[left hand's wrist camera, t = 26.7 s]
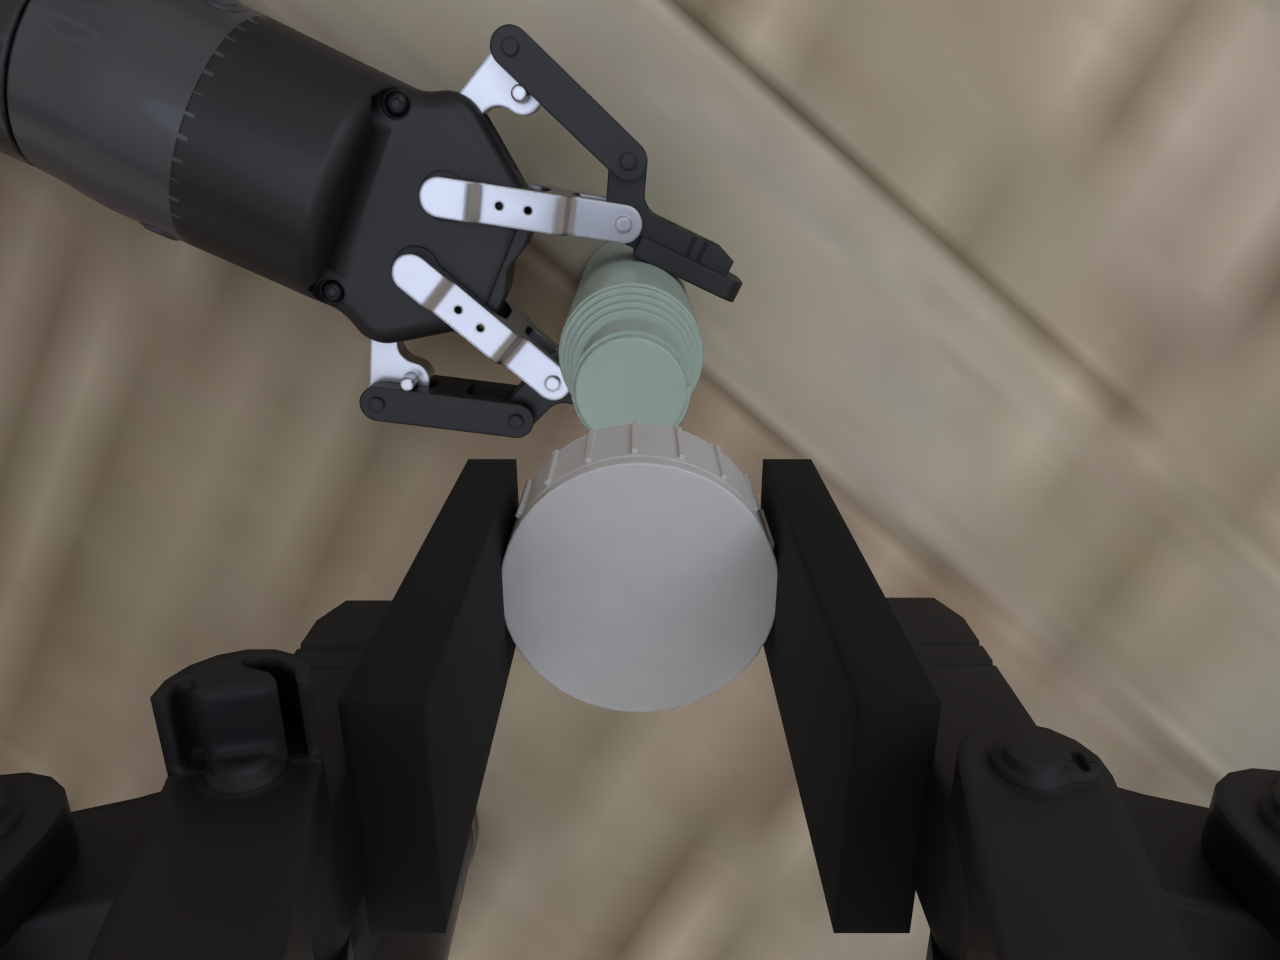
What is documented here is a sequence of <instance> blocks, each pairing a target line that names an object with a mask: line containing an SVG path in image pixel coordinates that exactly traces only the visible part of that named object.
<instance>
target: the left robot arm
mask: <svg viewBox="0 0 1280 960" xmlns="http://www.w3.org/2000/svg"><path fill="white" fill-rule="evenodd" d="M518 506H519V502H518V483H517V464H516V459H468V461H467V463H466V465H465V467H464V468H463V470H462V472H461V474H460V476H459V478H458V480H457V481H456V483H455V485H454V487H453V489H452V491H451V493H450V494H449V496H448V498H447V500H446V502H445V504H444V506H443V507H442V509H441V511H440V513H439V515H438V517H437V519H436V520H435V522H434V524H433V526H432V528H431V530H430V532H429V533H428V535H427V537H426V539H425V541H424V543H423V545H422V546H421V548H420V550H419V552H418V554H417V556H416V558H415V559H414V561H413V563H412V565H411V567H410V569H409V571H408V572H407V574H406V576H405V578H404V580H403V582H402V584H401V585H400V587H399V589H398V591H397V593H396V595H395V597H394V598H393V600H392V601H345V602H344V603H342V604H341V605H339V606H338V607H336V608H335V609H333V610H332V611H330V612H329V613H327V614H326V615H324V616H323V617H321V618H320V619H319V620H317V621H316V622H315V624H314V625H313V627H312V628H311V630H310V631H309V633H308V634H307V636H306V637H305V639H304V640H303V642H302V643H301V648H300V649H297V651H296V652H295V654H290V653H287V652H283V651H279V650H242V651H237V652H232V653H227V654H221V655H217V656H214V657H211V658H209V659H206V660H203V661H201V662H198V663H195V664H193V665H190V666H188V667H186V668H185V669H183V670H181V671H180V672H178V673H177V674H175V675H173V676H172V677H170V678H169V679H167V680H165V681H164V682H163V684H162V685H161V686H160V687H159V688H158V689H157V690H156V692H155V693H154V694H153V695H152V696H151V697H150V699H151V703H152V708H153V712H154V716H155V721H156V725H157V730H158V734H159V738H160V743H161V747H162V752H163V756H164V760H165V765H166V769H167V774H168V778H167V780H166V782H165V784H164V787H163V789H162V791H161V792H157V793H154V794H150V795H147V796H143V797H139V798H136V799H131V800H126V801H121V802H117V803H112V804H107V805H102V806H98V807H93V808H88V809H83V810H79V811H74V812H71V810H70V806H69V803H68V799H67V796H66V792H65V789H64V788H63V787H62V786H61V785H60V784H59V783H58V782H57V781H55V780H54V779H53V778H52V777H49V776H44V775H38V774H33V773H17V774H6V775H0V960H354V957H353V950H352V943H351V937H350V930H351V927H352V925H353V922H354V919H355V916H356V914H357V911H358V908H359V905H360V903H361V900H362V897H363V894H364V895H365V902H366V909H367V916H368V923H369V930H370V933H446V929H447V925H448V920H449V916H450V912H451V908H452V904H453V900H454V896H455V892H456V888H457V884H458V880H459V876H460V871H461V867H462V863H463V859H464V855H465V851H466V847H467V843H468V839H469V835H470V831H471V827H472V822H473V818H474V814H475V810H476V806H477V802H478V798H479V794H480V790H481V786H482V782H483V778H484V773H485V769H486V765H487V761H488V757H489V753H490V749H491V745H492V741H493V737H494V733H495V729H496V724H497V720H498V716H499V712H500V708H501V704H502V700H503V696H504V692H505V688H506V684H507V680H508V676H509V671H510V667H511V663H512V659H513V655H514V651H515V647H516V645H515V643H514V641H513V639H512V637H511V635H510V633H509V630H508V628H507V626H506V622H505V616H504V600H503V584H502V561H503V558H504V555H505V552H506V548H507V545H508V542H509V539H510V536H511V533H512V530H513V527H514V524H515V521H516V518H517V517H515V515H516V512H517V509H518ZM761 509H763V512H764V515H765V518H766V521H767V524H768V527H769V530H770V533H771V536H772V539H773V542H774V550H773V552H774V555H775V558H776V562H777V590H776V607H775V619H774V623H773V626H772V628H771V630H770V633H769V635H768V637H767V639H766V641H765V643H764V644H763V645H764V649H765V653H766V657H767V662H768V666H769V670H770V674H771V678H772V682H773V686H774V690H775V694H776V698H777V702H778V706H779V711H780V715H781V719H782V723H783V727H784V731H785V735H786V739H787V743H788V747H789V751H790V755H791V760H792V764H793V768H794V772H795V776H796V780H797V784H798V788H799V792H800V796H801V800H802V804H803V809H804V813H805V817H806V821H807V825H808V829H809V833H810V837H811V841H812V845H813V849H814V853H815V858H816V862H817V866H818V870H819V874H820V878H821V882H822V886H823V890H824V894H825V898H826V902H827V907H828V911H829V915H830V919H831V923H832V927H833V931H834V933H910V926H911V919H912V912H913V904H914V897H915V890H916V892H917V894H918V897H919V900H920V903H921V905H922V908H923V911H924V913H925V916H926V919H927V922H928V924H929V927H930V937H929V943H928V950H927V956H926V960H1280V771H1276V770H1265V769H1254V768H1252V769H1247V770H1241V771H1236V772H1231V773H1228V774H1227V775H1226V776H1225V777H1224V778H1223V779H1221V780H1220V781H1219V782H1218V783H1217V784H1216V786H1215V789H1214V793H1213V797H1212V800H1211V804H1210V807H1209V808H1206V807H1201V806H1196V805H1192V804H1187V803H1182V802H1177V801H1172V800H1168V799H1163V798H1158V797H1153V796H1148V795H1144V794H1140V793H1136V792H1133V791H1129V790H1126V789H1122V788H1118V787H1117V785H1116V783H1115V781H1114V778H1113V776H1112V774H1111V773H1110V772H1109V770H1108V769H1107V768H1106V766H1105V765H1104V764H1103V762H1102V761H1101V760H1100V758H1099V757H1098V756H1097V755H1095V754H1094V753H1093V752H1091V751H1090V750H1088V749H1087V748H1086V747H1084V746H1083V745H1081V744H1080V743H1079V742H1077V741H1076V740H1074V739H1071V738H1069V737H1067V736H1064V735H1062V734H1060V733H1057V732H1055V731H1053V730H1050V729H1048V728H1043V727H1039V726H1036V724H1035V723H1034V721H1033V720H1032V718H1031V717H1030V715H1029V714H1028V712H1027V711H1026V710H1025V708H1024V707H1023V705H1022V704H1021V702H1020V701H1019V699H1018V698H1017V696H1016V695H1015V693H1014V692H1013V690H1012V689H1011V687H1010V686H1009V684H1008V683H1007V682H1006V680H1005V679H1004V677H1003V676H1002V674H1001V673H1000V671H999V670H998V668H997V667H996V666H993V664H992V659H991V658H990V656H989V655H988V654H987V652H986V651H985V649H984V648H983V646H979V640H978V639H977V637H976V636H975V634H974V633H973V631H972V630H971V628H970V627H969V626H968V624H967V623H966V621H965V620H964V618H963V617H961V616H960V615H958V614H957V613H955V612H954V611H952V610H951V609H949V608H948V607H946V606H945V605H943V604H942V603H941V602H939V601H938V600H936V599H935V598H885V596H884V594H883V592H882V590H881V588H880V587H879V585H878V583H877V581H876V579H875V577H874V575H873V574H872V572H871V570H870V568H869V566H868V564H867V562H866V561H865V559H864V557H863V555H862V553H861V551H860V549H859V548H858V546H857V544H856V542H855V540H854V538H853V536H852V535H851V533H850V531H849V529H848V527H847V525H846V523H845V522H844V520H843V518H842V516H841V514H840V512H839V510H838V509H837V507H836V505H835V503H834V501H833V499H832V497H831V496H830V494H829V492H828V490H827V488H826V486H825V484H824V483H823V481H822V479H821V477H820V475H819V473H818V471H817V470H816V468H815V466H814V464H813V462H812V460H811V459H763V472H762V491H761Z"/></svg>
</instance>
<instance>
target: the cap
mask: <svg viewBox="0 0 1280 960" xmlns="http://www.w3.org/2000/svg"><path fill="white" fill-rule="evenodd" d="M515 517H517V518H516V521H515V524H514V527H513V530H512V533H511V536H510V539H509V542H508V545H507V548H506V552H505V555H504V558H503V561H502V584H503V600H504V616H505V622H506V626H507V628H508V630H509V633H510V635H511V637H512V639H513V641H514V643H515V645H516V646H517V648H518V649H519V651H520V652H521V654H522V656H523V657H524V658H525V659H526V660H527V662H528V663H529V664H530V665H531V666H532V668H533V669H534V670H535V671H536V672H538V673H539V674H540V675H541V676H542V677H543V678H544V679H545V680H546V681H548V682H549V683H551V684H552V685H553V686H555V687H556V688H558V689H559V690H561V691H563V692H564V693H566V694H568V695H570V696H572V697H573V698H576V699H578V700H581V701H583V702H586V703H588V704H591V705H595V706H598V707H602V708H605V709H611V710H617V711H624V712H654V711H662V710H668V709H674V708H677V707H681V706H684V705H688V704H691V703H694V702H696V701H698V700H701V699H703V698H705V697H707V696H709V695H711V694H713V693H715V692H716V691H718V690H720V689H722V688H723V687H724V686H726V685H727V684H728V683H730V682H731V681H732V680H734V679H735V678H736V677H737V676H738V675H739V674H740V673H741V672H742V671H744V670H745V669H746V668H747V667H748V665H749V664H750V663H751V662H752V660H753V659H754V658H755V657H756V656H757V654H758V653H759V651H760V649H761V648H762V646H763V644H764V643H765V641H766V639H767V637H768V635H769V633H770V630H771V628H772V626H773V623H774V619H775V607H776V590H777V562H776V558H775V555H774V552H773V550H774V542H773V539H772V536H771V533H770V530H769V527H768V524H767V521H766V518H765V515H764V512H763V509H759V506H758V503H757V500H756V497H755V495H754V491H753V488H752V485H751V482H750V479H749V476H748V475H747V473H745V474H742V472H741V471H740V470H739V469H738V468H737V466H736V465H735V464H734V463H733V462H732V461H731V460H730V459H729V458H728V457H727V456H726V455H725V454H723V453H722V452H721V449H720V446H718V445H717V444H715V445H714V446H713V445H711V444H710V443H708V442H707V441H705V440H703V439H701V438H699V437H697V436H695V435H693V434H691V433H688V432H685V431H682V427H679V426H676V428H673V427H668V426H662V425H657V424H642V423H638V421H632V424H622V425H617V426H611V427H606V428H603V429H600V430H597V431H595V429H591V430H590V431H589V433H588V434H586V435H584V436H582V437H580V438H578V439H576V440H574V441H572V442H571V443H569V444H568V445H566V446H565V447H563V448H562V449H560V450H559V451H558V450H557V449H556V450H554V451H553V453H552V456H551V458H550V459H549V460H548V461H547V462H546V463H545V464H544V465H543V467H542V468H541V469H540V470H539V471H538V472H537V474H536V476H535V477H534V479H533V480H532V481H531V480H528V481H527V483H526V485H525V488H524V491H523V494H522V497H521V500H520V503H519V506H518V509H517V512H516V515H515Z"/></svg>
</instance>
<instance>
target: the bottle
mask: <svg viewBox="0 0 1280 960" xmlns="http://www.w3.org/2000/svg"><path fill="white" fill-rule="evenodd" d="M558 355H559V365H560V370H561V374H562V377H563V380H564V382H565V385H566V387H567V389H568V391H569V392H570V394H571V397H572V401H573V404H574V408H575V412H576V413H577V415H578V417H579V418H580V420H581V422H582V423H583V425H584V426H585V427H586V428H587V429H588V430H589V431H590V430H591V429H595V431H597V430H600V429H603V428H606V427H611V426H617V425H622V424H632V421H638V423H642V424H657V425H662V426H668V427H673V428H676V426H678V425H679V424H680V422H681V421H682V419H683V418H684V416H685V414H686V411H687V408H688V405H689V402H690V396H691V394H692V392H693V390H694V389H695V387H696V384H697V382H698V379H699V377H700V374H701V370H702V365H703V343H702V338H701V334H700V330H699V327H698V324H697V322H696V319H695V316H694V313H693V310H692V307H691V304H690V301H689V298H688V295H687V292H686V289H685V286H684V283H683V280H682V279H680V278H678V277H676V276H674V275H672V274H670V273H668V272H666V271H664V270H662V269H660V268H658V267H656V266H653V265H651V264H649V263H647V262H644V261H642V260H640V259H638V258H636V257H634V256H633V248H631V247H629V246H627V245H625V244H622V243H615V242H608V243H606V244H605V245H603V246H601V247H600V248H599V249H598V250H597V251H596V252H595V253H594V254H593V255H592V256H591V258H590V259H589V261H588V263H587V265H586V267H585V269H584V272H583V275H582V277H581V280H580V283H579V286H578V289H577V291H576V294H575V297H574V300H573V302H572V305H571V308H570V311H569V314H568V316H567V319H566V322H565V325H564V327H563V330H562V333H561V337H560V342H559V352H558Z"/></svg>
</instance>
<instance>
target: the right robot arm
mask: <svg viewBox="0 0 1280 960" xmlns="http://www.w3.org/2000/svg"><path fill="white" fill-rule="evenodd" d="M490 50H491V53H490V54H489V55H488V57H487V58H486V59H485V61H484V62H483V63H482V64H481V66H480V67H479V68H478V70H477V71H476V72H475V73H474V75H473V76H472V77H471V79H470V80H469V81H468V82H467V84H466V85H465V86H464V88H463V89H462V90H461V91H460V93H459V92H455V91H445V90H444V91H435V92H428V91H421V90H419V89H416V88H414V87H412V86H409V85H407V84H405V83H403V82H401V81H399V80H397V79H395V78H393V77H391V76H389V75H387V74H385V73H383V72H380V71H378V70H376V69H374V68H372V67H370V66H368V65H366V64H364V63H362V62H360V61H358V60H356V59H354V58H352V57H350V56H348V55H345V54H343V53H341V52H339V51H337V50H335V49H333V48H331V47H329V46H327V45H325V44H323V43H321V42H319V41H317V40H315V39H313V38H311V37H308V36H306V35H304V34H302V33H300V32H298V31H296V30H294V29H292V28H290V27H288V26H286V25H284V24H282V23H280V22H278V21H276V20H274V19H272V18H270V17H267V16H265V15H263V14H261V13H259V12H257V11H255V10H253V9H251V8H249V7H247V6H245V5H243V4H241V3H240V2H238V1H237V0H0V152H2V153H4V154H7V155H9V156H11V157H13V158H16V159H18V160H20V161H22V162H25V163H27V164H29V165H32V166H34V167H37V168H38V169H40V170H42V171H44V172H46V173H48V174H50V175H52V176H54V177H56V178H58V179H60V180H61V181H63V182H65V183H67V184H68V185H70V186H71V187H73V188H75V189H76V190H78V191H80V192H81V193H83V194H84V195H86V196H88V197H90V198H92V199H93V200H95V201H97V202H99V203H100V204H102V205H104V206H106V207H108V208H110V209H112V210H114V211H116V212H118V213H120V214H122V215H124V216H127V217H129V218H131V219H133V220H136V221H138V222H140V223H141V224H142V225H144V227H145V228H146V229H148V230H150V231H152V232H155V233H157V234H159V235H162V236H164V237H167V238H169V239H172V240H175V241H177V240H181V241H183V242H186V243H188V244H190V245H192V246H195V247H197V248H199V249H201V250H204V251H206V252H208V253H211V254H213V255H215V256H217V257H220V258H222V259H225V260H227V261H229V262H231V263H234V264H236V265H238V266H240V267H243V268H245V269H247V270H250V271H252V272H254V273H256V274H259V275H261V276H263V277H265V278H268V279H270V280H272V281H274V282H277V283H279V284H281V285H283V286H286V287H288V288H290V289H292V290H295V291H297V292H299V293H301V294H304V295H306V296H308V297H310V298H313V299H315V300H318V301H320V302H323V303H325V304H328V305H330V306H332V307H334V308H336V309H338V310H339V311H341V312H342V313H343V314H344V315H346V316H347V317H348V318H349V319H350V320H351V321H352V322H353V324H354V325H355V326H356V327H357V329H358V330H359V331H360V332H361V333H362V334H363V335H365V336H366V337H368V338H369V339H371V340H370V382H369V386H368V388H367V389H366V390H365V391H364V392H363V393H362V395H361V397H360V407H361V410H362V412H363V413H364V414H365V415H366V416H367V417H368V418H370V419H372V420H375V421H383V422H391V423H399V424H407V425H415V426H423V427H432V428H440V429H448V430H456V431H464V432H473V433H481V434H489V435H497V436H505V437H513V438H520V437H524V436H526V435H527V434H528V433H529V432H530V431H531V430H532V427H533V425H534V423H535V422H536V421H537V420H538V419H539V418H540V417H541V416H542V415H543V414H544V413H545V412H546V411H547V410H548V409H549V408H551V407H552V406H554V405H556V404H559V403H570V404H573V401H572V397H571V394H570V392H569V391H568V389H567V387H566V385H565V382H564V380H563V377H562V374H561V370H560V365H559V355H558V352H559V345H558V344H556V343H555V342H554V341H553V340H552V339H550V338H549V337H548V336H547V335H546V334H545V333H543V332H542V331H541V330H540V329H539V328H537V327H536V326H535V325H534V324H533V323H532V321H531V319H530V318H529V317H528V316H527V315H526V314H525V313H524V312H523V311H522V310H521V309H519V308H518V307H517V306H516V305H515V304H514V303H512V302H511V301H510V300H509V299H508V298H507V295H508V293H509V290H510V288H511V286H512V282H513V274H514V266H515V260H516V259H517V257H518V256H519V255H520V253H521V252H522V251H523V250H524V248H525V247H526V246H527V244H528V243H529V242H530V239H531V237H532V234H533V232H539V233H546V234H552V235H569V236H577V237H583V238H589V239H596V240H602V241H608V242H615V243H622V244H625V245H627V246H629V247H631V248H633V256H634V257H636V258H638V259H640V260H642V261H644V262H647V263H649V264H651V265H653V266H656V267H658V268H660V269H662V270H664V271H666V272H668V273H670V274H672V275H674V276H676V277H678V278H680V279H682V280H684V281H687V282H689V283H691V284H693V285H695V286H697V287H699V288H701V289H703V290H706V291H708V292H710V293H712V294H714V295H716V296H718V297H720V298H722V299H725V300H727V301H730V302H734V300H735V298H736V296H737V294H738V292H739V290H740V288H741V286H742V284H743V283H742V282H741V280H740V279H739V278H738V277H737V276H735V275H734V274H732V273H730V272H729V270H730V268H731V266H732V264H733V260H732V259H731V258H730V257H729V256H728V254H727V253H726V252H725V251H724V250H723V249H722V248H721V246H720V245H718V244H716V243H714V242H712V241H710V240H708V239H706V238H704V237H702V236H700V235H698V234H696V233H693V232H692V231H690V230H688V229H685V228H683V227H681V226H679V225H677V224H675V223H673V222H671V221H669V220H667V219H665V218H663V217H661V216H659V215H657V214H655V213H654V212H652V211H651V210H650V208H649V207H648V205H647V203H646V201H645V183H646V171H647V155H646V152H645V150H644V149H643V147H642V146H641V145H640V144H639V143H638V142H637V141H636V140H635V139H634V138H633V137H632V136H631V135H630V134H629V133H628V132H627V131H626V130H625V129H624V128H623V127H622V126H621V125H620V124H619V123H618V122H617V121H615V120H614V119H613V118H612V117H611V116H610V115H609V114H608V113H607V112H606V111H605V110H604V109H603V108H602V107H601V106H600V105H599V104H598V103H597V102H596V101H595V100H594V99H593V98H592V97H591V96H590V95H589V94H588V93H587V92H586V91H585V90H584V89H583V88H582V87H581V86H580V85H579V84H578V83H577V82H576V81H575V80H574V79H573V78H572V77H571V76H570V75H569V74H567V73H566V72H565V71H564V70H563V69H562V68H561V67H560V66H559V65H558V64H557V63H556V62H555V61H554V60H553V59H552V58H551V57H550V56H549V55H548V54H547V53H546V52H545V51H544V50H543V49H542V48H541V47H540V46H539V45H538V44H537V43H536V42H535V41H534V40H533V39H532V38H531V37H530V36H529V35H528V34H526V33H525V32H524V31H523V30H522V29H521V28H519V27H518V26H515V25H511V24H507V25H503V26H501V27H499V28H498V29H497V30H496V31H495V32H494V33H493V35H492V37H491V41H490ZM541 106H543V107H544V108H545V109H546V110H547V111H548V112H549V113H550V114H551V115H552V116H553V117H554V118H555V119H556V120H557V121H558V122H559V123H560V124H561V125H562V126H563V127H565V128H566V129H567V130H568V131H569V132H570V133H571V134H572V135H573V136H574V137H575V138H576V139H577V140H578V141H579V142H580V143H581V144H582V145H583V146H584V147H585V148H586V149H587V150H589V151H590V152H591V153H592V154H593V155H594V156H595V157H596V158H597V159H598V160H599V161H600V162H601V163H602V164H603V165H604V166H605V167H606V168H607V169H608V170H609V172H608V186H607V197H606V196H600V195H594V194H588V193H581V192H577V191H573V190H568V189H563V188H556V187H550V186H544V185H538V184H531V183H526V181H525V180H524V178H523V176H522V175H521V173H520V171H519V169H518V167H517V166H516V164H515V162H514V160H513V159H512V157H511V155H510V153H509V152H508V150H507V148H506V146H505V145H504V143H503V141H502V139H501V138H500V136H499V134H498V132H497V131H496V129H495V127H494V125H493V124H492V122H491V120H490V118H489V117H488V115H487V113H488V112H489V111H490V110H492V109H494V108H496V107H506V108H508V109H509V110H511V111H512V112H513V113H516V114H519V115H525V116H527V115H532V114H534V113H536V112H537V111H538V110H539V109H540V108H541ZM479 325H483V327H484V329H481V328H480V327H479ZM452 331H456V332H457V333H459V334H460V335H461V336H462V337H464V338H465V339H466V340H467V341H468V342H470V343H471V344H472V345H473V346H475V347H476V348H477V349H478V350H479V351H481V352H482V353H483V354H484V355H486V356H487V357H488V358H489V359H491V360H492V361H494V362H496V363H498V364H502V365H504V366H505V367H507V368H508V369H509V370H510V371H512V372H513V373H514V374H515V375H517V376H518V377H519V378H520V379H521V380H523V381H522V382H521V383H520V384H519V385H511V384H503V383H495V382H487V381H479V380H471V379H463V378H455V377H447V376H439V375H434V369H433V367H432V365H431V364H430V362H429V361H427V360H426V359H424V358H422V357H418V356H415V355H413V354H412V353H410V352H409V351H408V349H407V348H406V346H405V344H404V341H406V340H411V339H416V338H421V337H426V336H431V335H437V334H442V333H447V332H452ZM573 405H574V404H573ZM477 836H478V822H477V817H476V813H475V814H474V818H473V822H472V827H471V831H470V835H469V839H468V843H467V847H466V851H465V855H464V859H463V863H462V867H461V871H460V876H459V880H458V884H457V888H456V892H455V896H454V900H453V904H452V908H451V912H450V916H449V920H448V925H447V929H446V933H370V930H369V923H368V916H367V909H366V902H365V895H364V894H363V897H362V900H361V903H360V905H359V908H358V911H357V914H356V916H355V919H354V922H353V925H352V927H351V930H350V937H351V943H352V950H353V957H354V960H448V956H449V952H450V947H451V943H452V938H453V934H454V930H455V925H456V921H457V916H458V912H459V907H460V903H461V900H462V895H463V891H464V886H465V882H466V877H467V872H468V868H469V866H470V863H471V861H472V858H473V855H474V851H475V847H476V842H477Z"/></svg>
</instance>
